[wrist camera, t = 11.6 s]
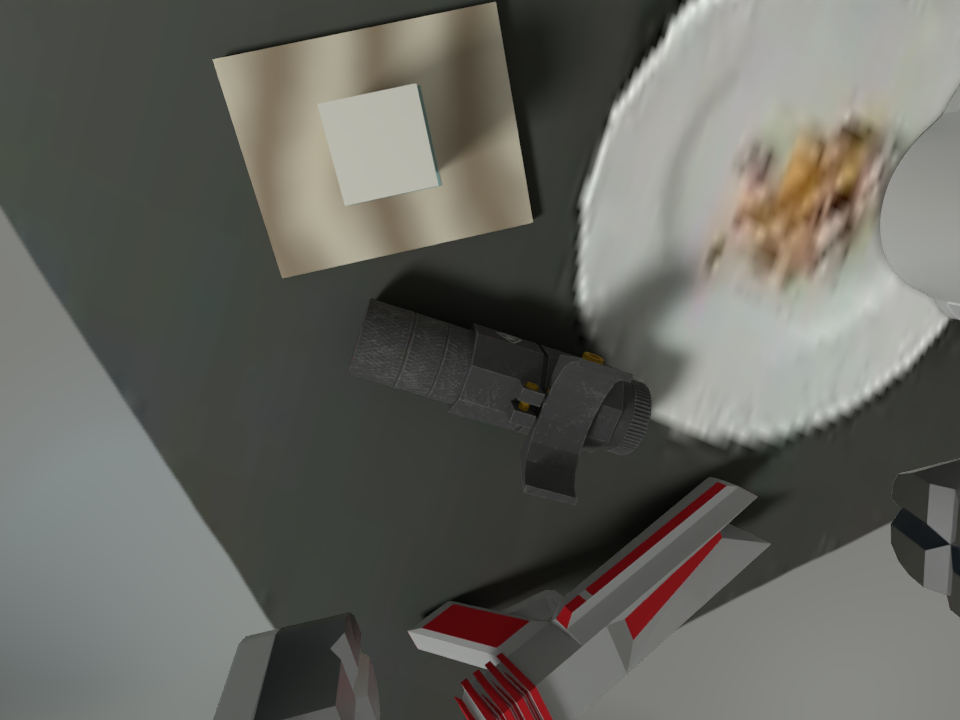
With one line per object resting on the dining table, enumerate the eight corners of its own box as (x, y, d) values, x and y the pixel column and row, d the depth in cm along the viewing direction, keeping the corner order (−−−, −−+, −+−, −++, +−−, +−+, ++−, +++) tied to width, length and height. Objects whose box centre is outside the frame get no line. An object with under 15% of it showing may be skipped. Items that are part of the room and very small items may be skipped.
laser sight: (381, 262, 44) (375, 292, 35) (651, 352, 49) (711, 399, 39) (343, 382, 47) (328, 441, 37) (604, 457, 51) (649, 525, 42)
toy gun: (652, 492, 64) (779, 554, 50) (428, 667, 54) (512, 799, 41) (633, 439, 61) (761, 489, 48) (396, 611, 52) (474, 733, 39)
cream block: (414, 92, 35) (416, 83, 30) (433, 181, 37) (438, 185, 32) (328, 110, 35) (316, 104, 30) (352, 199, 36) (344, 206, 32)
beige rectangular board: (493, 5, 39) (496, 1, 38) (530, 221, 44) (533, 222, 43) (217, 61, 38) (212, 59, 37) (285, 275, 43) (282, 278, 42)
